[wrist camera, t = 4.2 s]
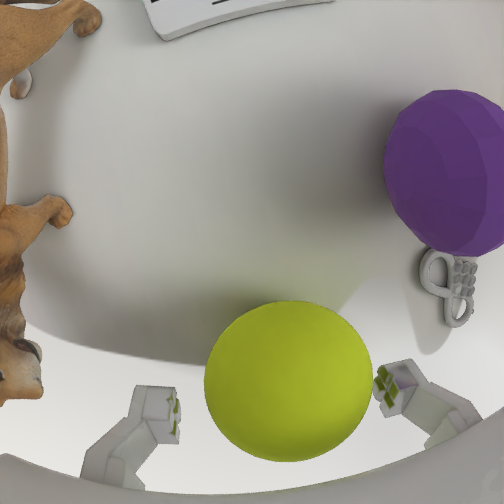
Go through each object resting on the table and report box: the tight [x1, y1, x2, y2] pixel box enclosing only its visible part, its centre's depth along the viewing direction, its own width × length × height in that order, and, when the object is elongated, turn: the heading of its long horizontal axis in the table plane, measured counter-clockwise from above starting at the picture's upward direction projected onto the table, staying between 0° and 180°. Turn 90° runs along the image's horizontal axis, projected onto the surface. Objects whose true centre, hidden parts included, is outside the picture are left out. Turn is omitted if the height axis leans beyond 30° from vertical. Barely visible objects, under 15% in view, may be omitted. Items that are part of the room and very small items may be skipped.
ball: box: [204, 301, 373, 462], centre depth 11 cm, size 7×7×7 cm
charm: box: [419, 248, 477, 328], centre depth 14 cm, size 8×1×4 cm
